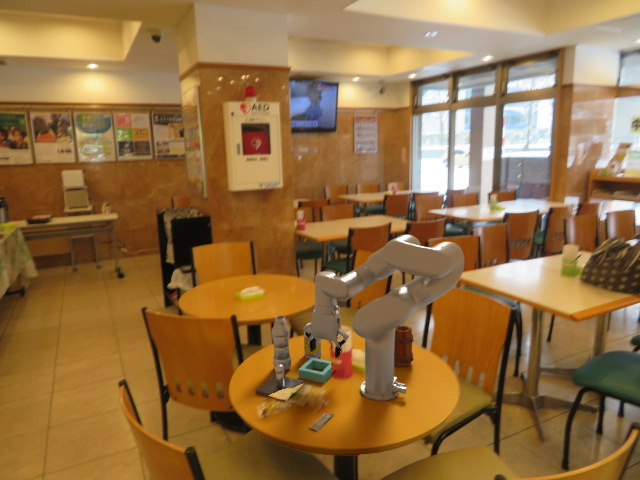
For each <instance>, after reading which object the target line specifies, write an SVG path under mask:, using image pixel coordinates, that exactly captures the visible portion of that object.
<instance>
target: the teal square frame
mask: <svg viewBox="0 0 640 480" xmlns="http://www.w3.org/2000/svg"><path fill="white" fill-rule="evenodd" d="M331 362H332V361H330V360H325V359H322V358H321V359H320V358H312V357H311V358H308V360H307V361H306V362H304V364H302V365H301V366H300V367H299V369H298V378H300V379H304V380H305V379H306V380H309V381H314V382H318V383H323V384H324V383H326V382H327V380H329V378H330V377H331V376H332V375H333V374H332V366H331ZM313 369H318V370H322V371H318V370H313Z"/></svg>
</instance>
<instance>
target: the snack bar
mask: <svg viewBox="0 0 640 480" xmlns="http://www.w3.org/2000/svg"><path fill="white" fill-rule="evenodd" d="M334 416H335V413H334V412H327V410H326V411H324V412H323V414H322V415H321V416H320V417H318V419H317V420H315V422H314V423H312V425H310V426H309V429H311V430H312V431H314V432H315V431H316V433H319V431H320V430H321V429H322V428H323V427H324V426H325V425H326V424H327V422H328V421H329V420H331V418H332V417H334Z"/></svg>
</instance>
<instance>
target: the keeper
mask: <svg viewBox="0 0 640 480" xmlns="http://www.w3.org/2000/svg"><path fill="white" fill-rule="evenodd" d="M274 371H275V373H274V374H273V375H272V376H271V377H270V378H268V379H267V380H266V381H265V382H264V383H263V384H262V385H260V386H259V387H258V388H257V389H256V390H255V394H257V395H261V396H265V397H268V395H270V394H272V393H275V392H277V391H279V390H282V389H286V388H294V387H296V386H298V385H300V384H303V383H305V380H302V379H299V378H294V377H289V376H285V374H284V373H285V370H284V366H283V365H281V364H279V365H277V366H276V367H274Z"/></svg>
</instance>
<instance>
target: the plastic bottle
mask: <svg viewBox="0 0 640 480" xmlns="http://www.w3.org/2000/svg"><path fill="white" fill-rule="evenodd" d="M286 322H287V321H286V317H285V316H284V315H277V316H275V317H274V326H273V327H272V328H271V337H272V342H273V359H272V364H273V367H274V368H275V367H276V366H277V365H279V364H281V365H283V366H284V371H287V370H289V369H290V368H291V366H292V357H291V354H290V348H289V347H290V346H289V345H290V333H291V332H290V328H289V326H288V325H287V324H286Z"/></svg>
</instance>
